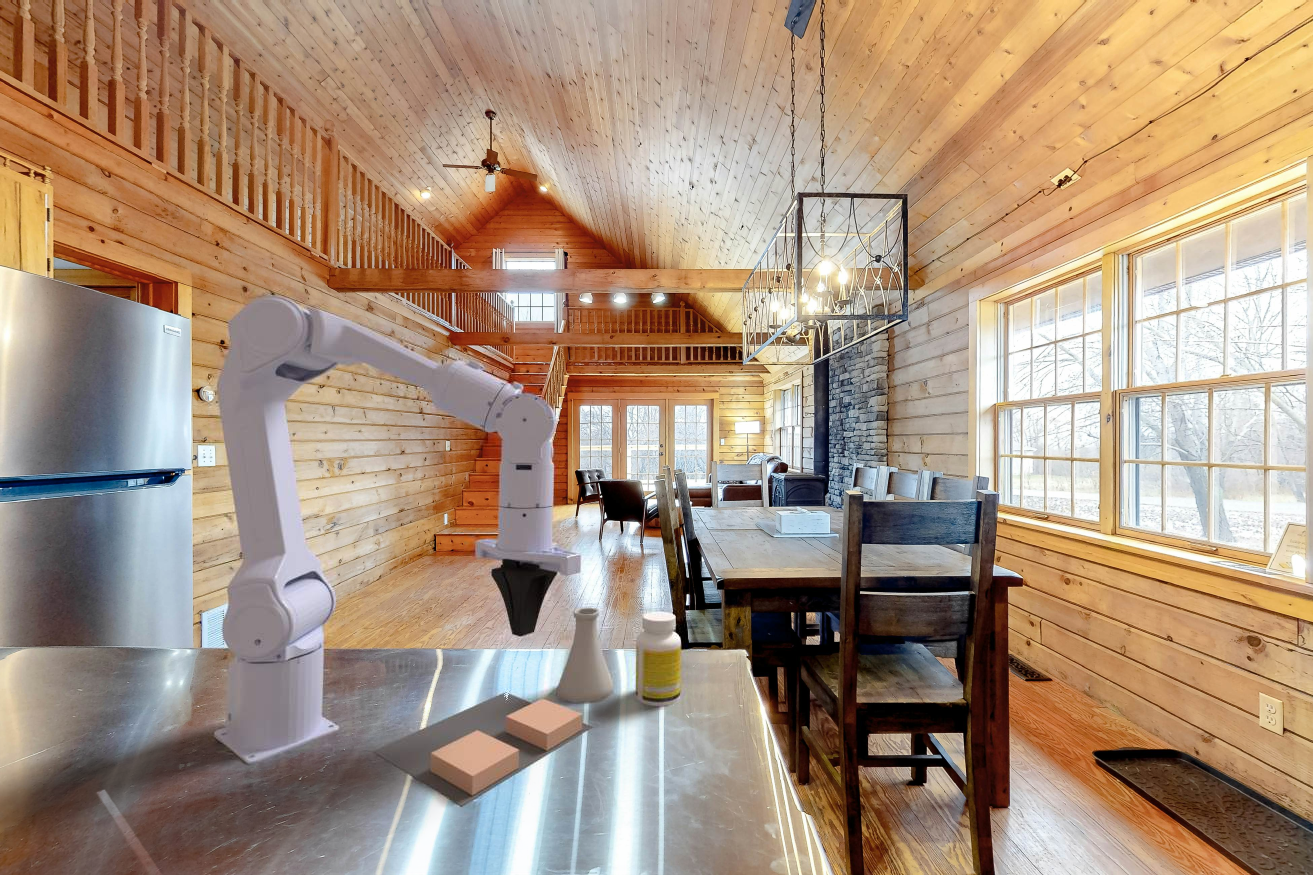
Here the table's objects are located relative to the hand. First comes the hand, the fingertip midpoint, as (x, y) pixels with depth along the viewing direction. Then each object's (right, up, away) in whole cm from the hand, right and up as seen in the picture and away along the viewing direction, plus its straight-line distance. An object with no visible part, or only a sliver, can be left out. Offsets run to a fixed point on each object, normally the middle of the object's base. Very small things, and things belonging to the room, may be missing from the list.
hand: (523, 633), depth 59 cm
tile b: (0, -9, 0) cm, 9 cm away
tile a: (-5, -8, -7) cm, 12 cm away
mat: (-3, -10, -3) cm, 11 cm away
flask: (+6, -10, +8) cm, 14 cm away
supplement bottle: (+14, -10, +7) cm, 19 cm away
